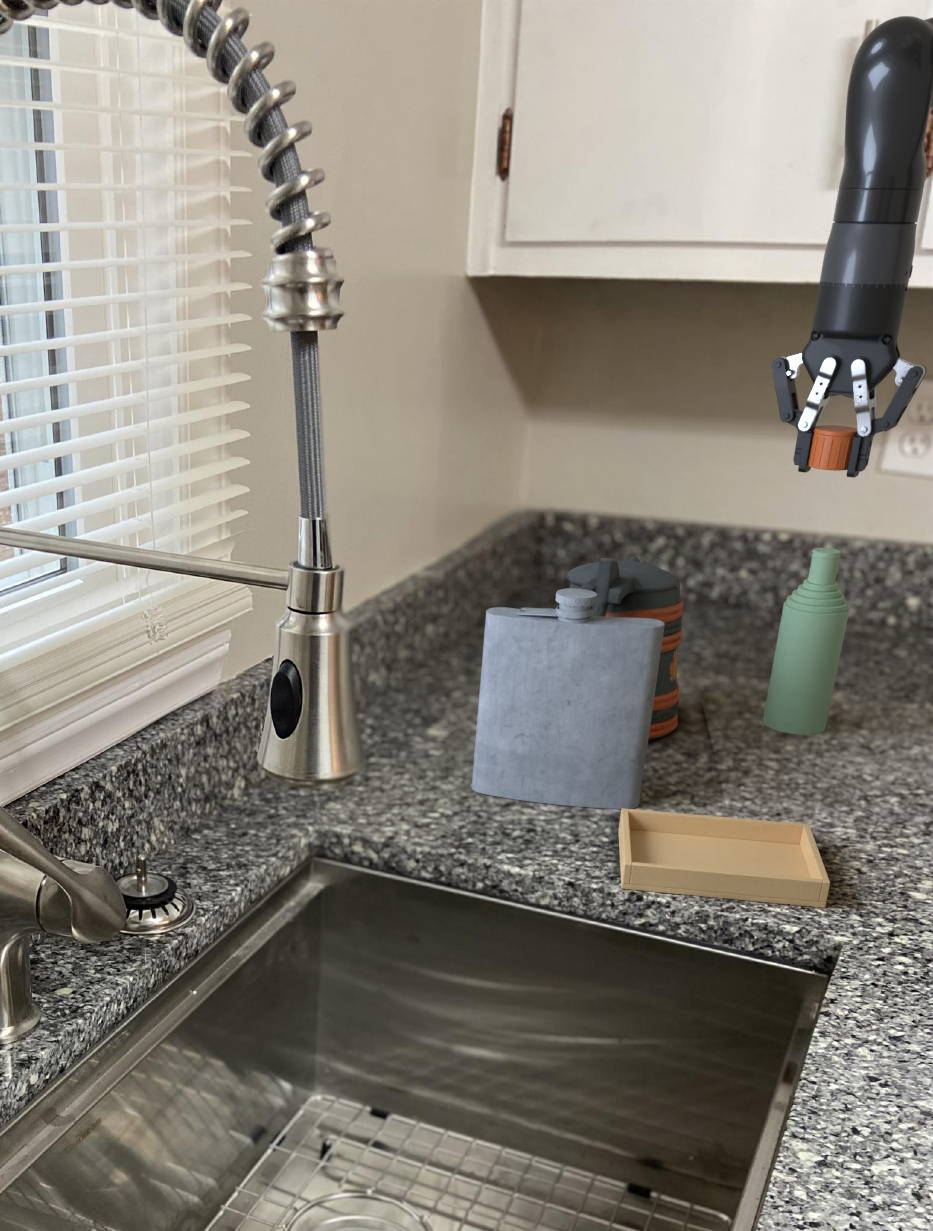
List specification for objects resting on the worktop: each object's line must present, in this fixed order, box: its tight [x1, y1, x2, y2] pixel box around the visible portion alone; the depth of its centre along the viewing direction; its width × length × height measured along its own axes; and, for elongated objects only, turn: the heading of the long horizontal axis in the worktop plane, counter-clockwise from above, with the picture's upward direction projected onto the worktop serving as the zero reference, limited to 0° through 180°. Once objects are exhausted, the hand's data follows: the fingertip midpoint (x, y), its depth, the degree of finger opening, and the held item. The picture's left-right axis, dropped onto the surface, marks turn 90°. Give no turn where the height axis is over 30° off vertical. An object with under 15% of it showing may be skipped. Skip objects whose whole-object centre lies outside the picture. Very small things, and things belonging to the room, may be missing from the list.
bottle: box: [762, 547, 850, 736], centre depth 148 cm, size 6×6×20 cm
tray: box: [617, 808, 831, 909], centre depth 121 cm, size 16×12×2 cm
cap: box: [808, 424, 858, 472], centre depth 134 cm, size 4×4×4 cm
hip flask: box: [471, 587, 665, 810], centre depth 131 cm, size 16×4×20 cm, turn 75°
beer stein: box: [566, 555, 684, 742], centre depth 148 cm, size 19×15×20 cm
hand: (828, 472), depth 135 cm, fingers closed on cap, 4 cm apart
